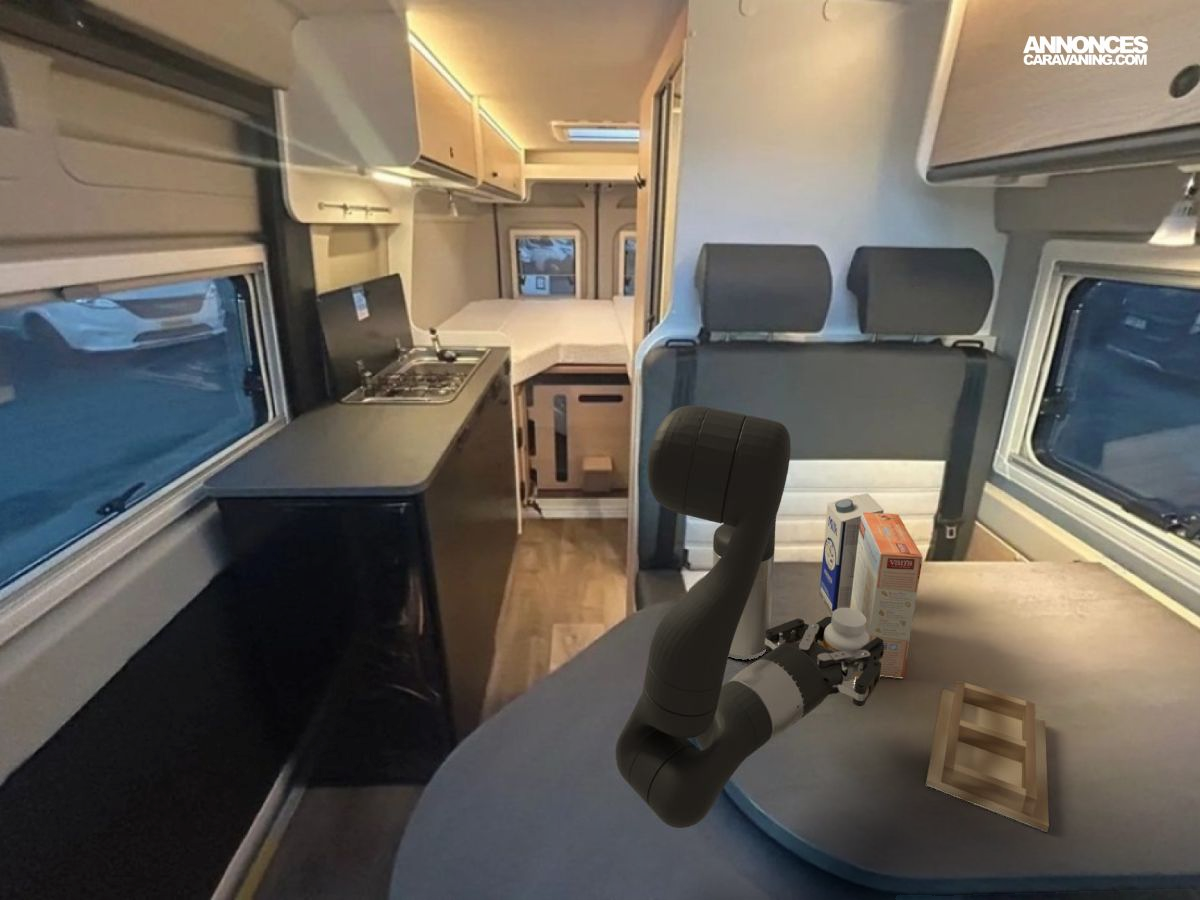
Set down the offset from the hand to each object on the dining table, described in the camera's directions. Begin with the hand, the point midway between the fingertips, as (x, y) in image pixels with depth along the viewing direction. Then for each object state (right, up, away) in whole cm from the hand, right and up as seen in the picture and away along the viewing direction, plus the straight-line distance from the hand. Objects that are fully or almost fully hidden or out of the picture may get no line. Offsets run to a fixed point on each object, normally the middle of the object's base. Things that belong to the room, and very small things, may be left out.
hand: (857, 633), depth 79 cm
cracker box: (+11, -8, +19) cm, 24 cm away
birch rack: (+16, -15, -1) cm, 22 cm away
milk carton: (+11, -4, +32) cm, 34 cm away
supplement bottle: (-2, -6, +1) cm, 7 cm away
